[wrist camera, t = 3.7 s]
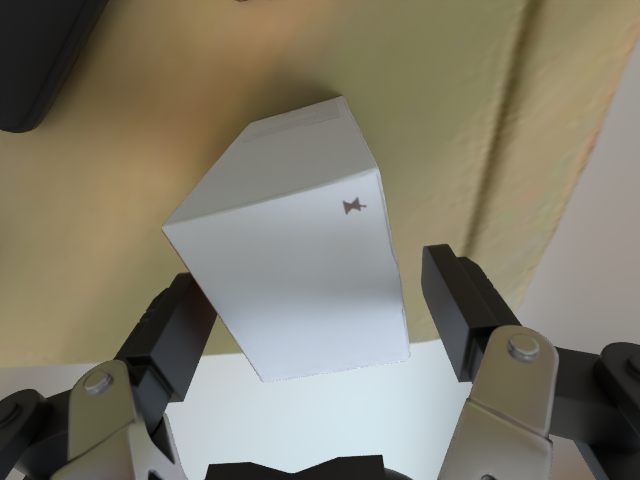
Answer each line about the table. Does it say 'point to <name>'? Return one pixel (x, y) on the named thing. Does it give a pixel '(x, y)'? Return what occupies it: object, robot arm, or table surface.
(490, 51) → the table surface
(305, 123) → the small box
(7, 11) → the carrying case
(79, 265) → the table surface
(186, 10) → the table surface
